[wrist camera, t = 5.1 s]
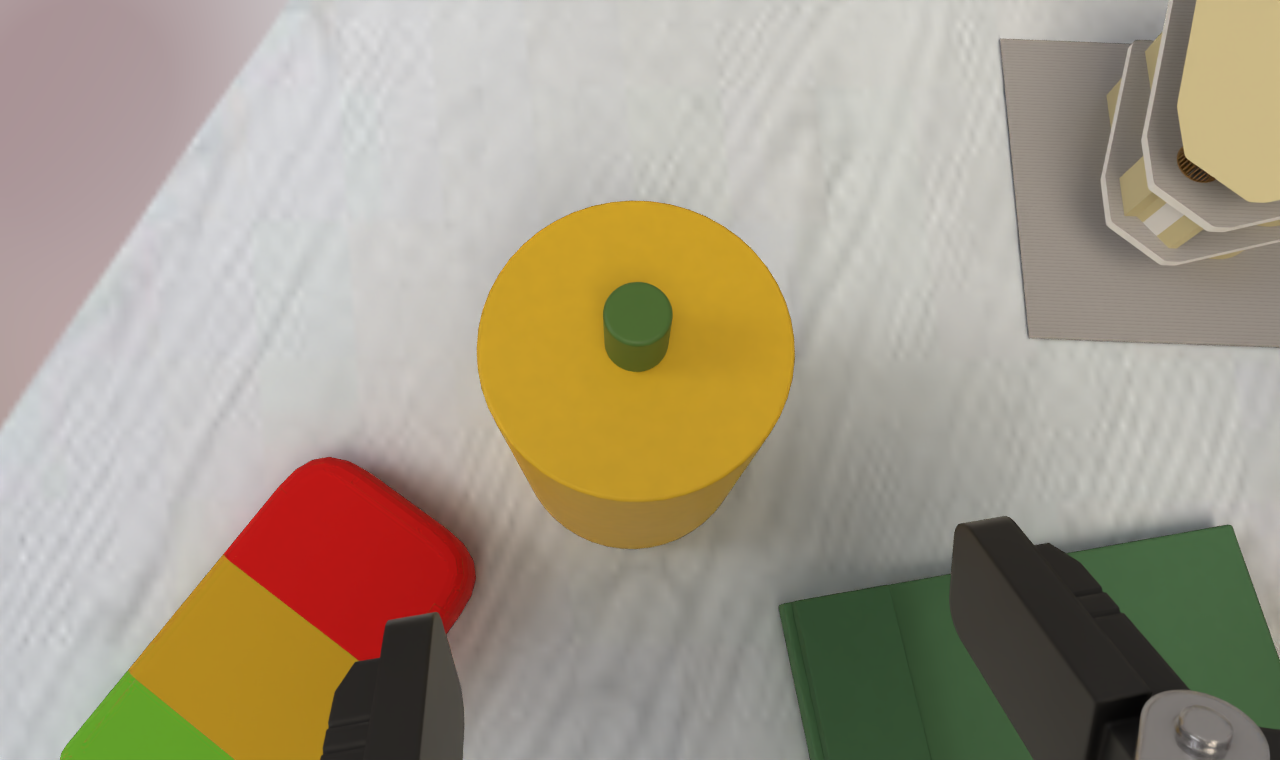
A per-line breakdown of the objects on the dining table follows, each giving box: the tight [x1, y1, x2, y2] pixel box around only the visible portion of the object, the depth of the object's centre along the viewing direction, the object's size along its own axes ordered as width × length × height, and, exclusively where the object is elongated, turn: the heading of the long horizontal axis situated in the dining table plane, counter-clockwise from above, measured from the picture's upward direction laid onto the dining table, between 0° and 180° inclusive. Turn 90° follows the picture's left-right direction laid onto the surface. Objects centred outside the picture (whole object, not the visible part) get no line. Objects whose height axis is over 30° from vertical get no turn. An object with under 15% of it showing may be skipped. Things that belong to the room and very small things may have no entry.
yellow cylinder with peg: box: [477, 201, 795, 549], centre depth 20 cm, size 6×6×10 cm
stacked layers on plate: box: [1000, 0, 1280, 347], centre depth 24 cm, size 10×9×6 cm
